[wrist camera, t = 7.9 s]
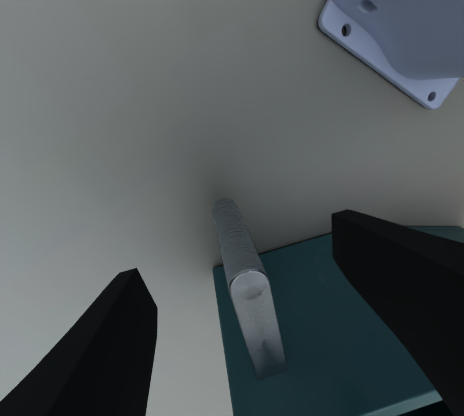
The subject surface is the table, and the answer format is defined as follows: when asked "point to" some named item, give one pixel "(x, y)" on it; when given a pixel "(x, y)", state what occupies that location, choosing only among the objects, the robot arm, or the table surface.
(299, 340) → the teal cabinet door
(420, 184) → the table surface
